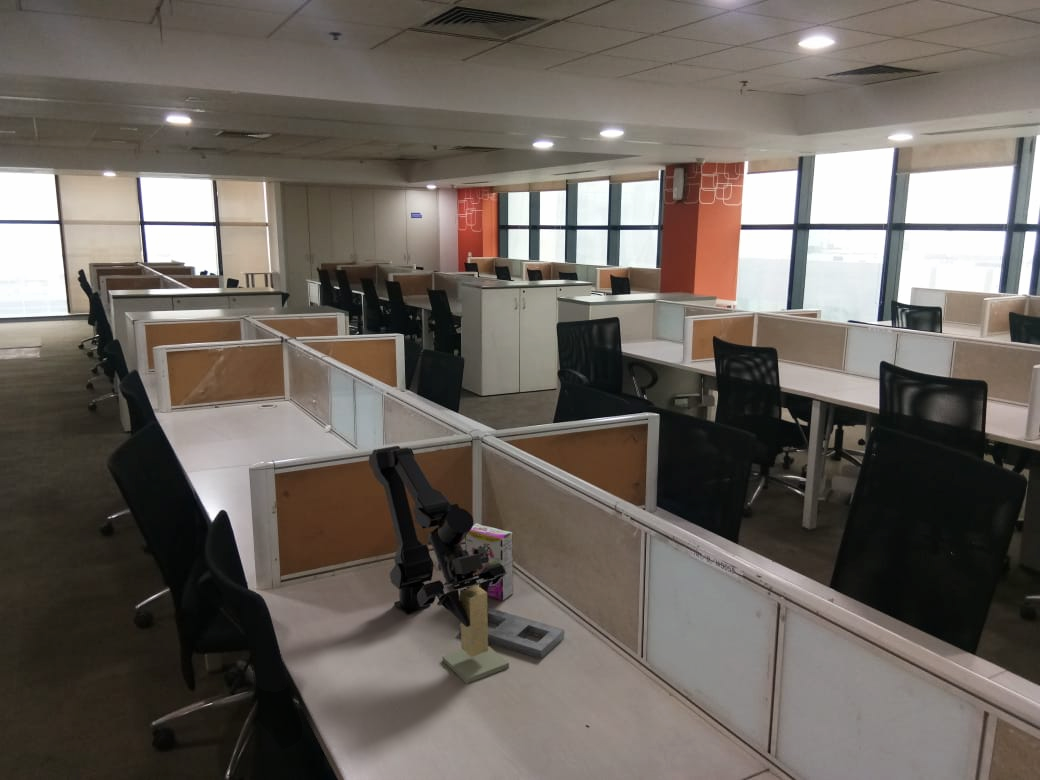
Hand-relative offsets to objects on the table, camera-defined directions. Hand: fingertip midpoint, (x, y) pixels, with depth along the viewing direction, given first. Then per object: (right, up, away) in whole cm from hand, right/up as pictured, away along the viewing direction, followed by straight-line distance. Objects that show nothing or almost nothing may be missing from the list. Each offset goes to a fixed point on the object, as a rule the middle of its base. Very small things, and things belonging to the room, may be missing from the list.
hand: (477, 623), depth 156 cm
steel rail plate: (+7, -7, +14) cm, 17 cm away
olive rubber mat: (-1, -9, +3) cm, 10 cm away
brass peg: (-1, -6, +2) cm, 7 cm away
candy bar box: (+1, -3, +34) cm, 34 cm away
